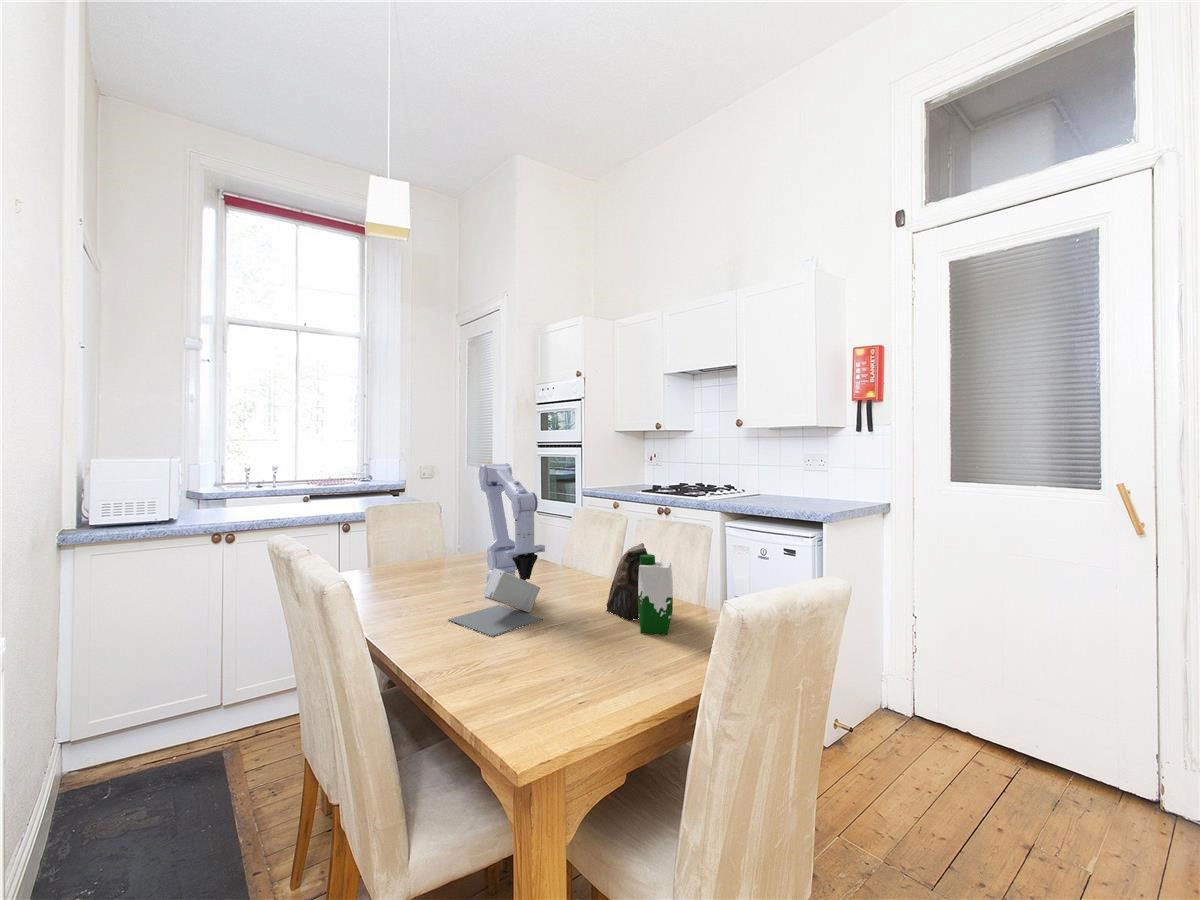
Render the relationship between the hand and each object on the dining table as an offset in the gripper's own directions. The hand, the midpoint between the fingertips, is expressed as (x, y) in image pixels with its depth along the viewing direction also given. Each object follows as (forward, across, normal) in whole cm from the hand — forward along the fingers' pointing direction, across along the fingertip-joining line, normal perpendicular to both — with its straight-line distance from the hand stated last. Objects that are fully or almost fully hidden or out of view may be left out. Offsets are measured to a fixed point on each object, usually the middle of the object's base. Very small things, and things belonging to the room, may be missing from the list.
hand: (525, 579), depth 164 cm
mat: (+10, -11, 0) cm, 15 cm away
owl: (+10, +19, -24) cm, 32 cm away
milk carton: (+10, +12, -39) cm, 42 cm away
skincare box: (+6, +2, 0) cm, 7 cm away
